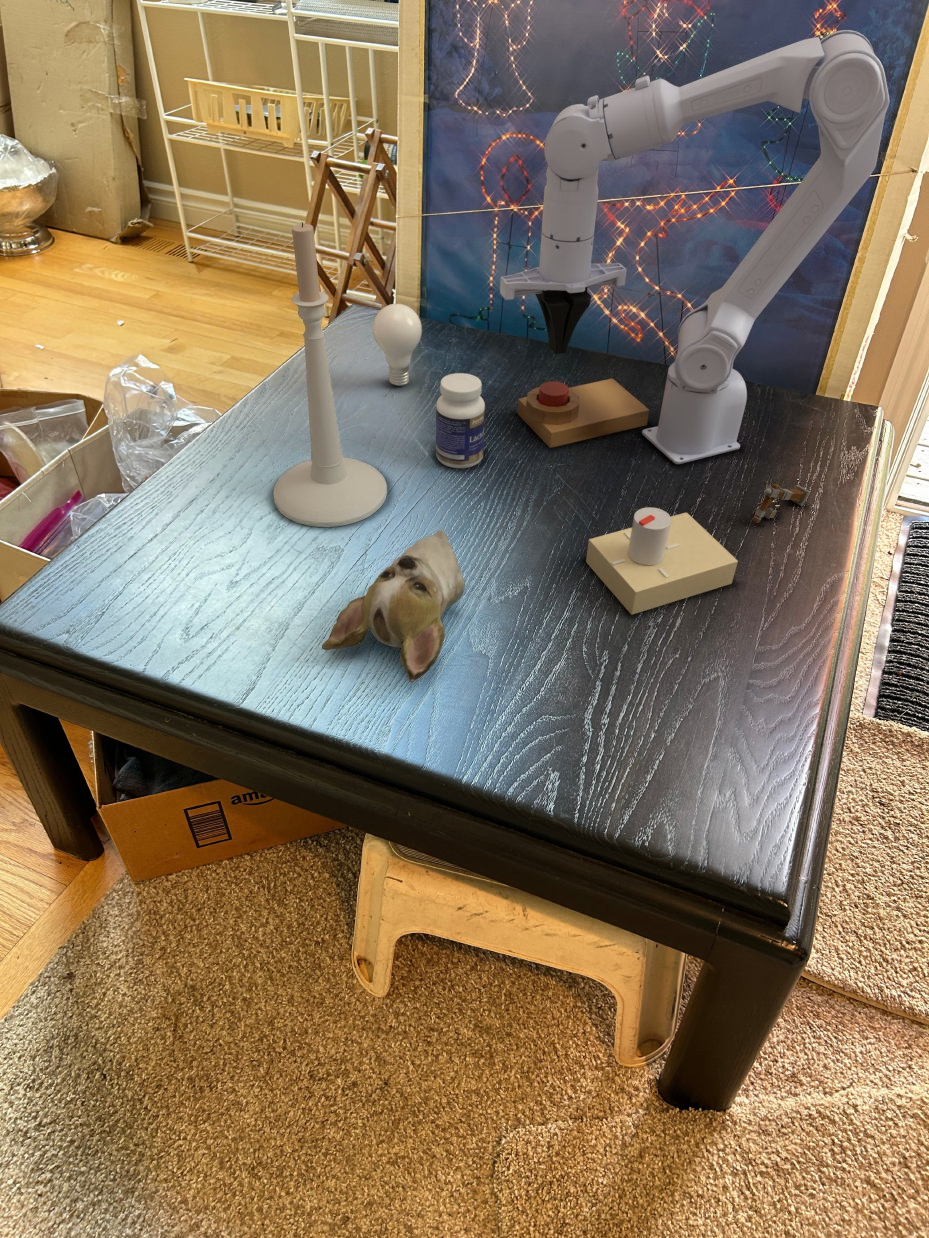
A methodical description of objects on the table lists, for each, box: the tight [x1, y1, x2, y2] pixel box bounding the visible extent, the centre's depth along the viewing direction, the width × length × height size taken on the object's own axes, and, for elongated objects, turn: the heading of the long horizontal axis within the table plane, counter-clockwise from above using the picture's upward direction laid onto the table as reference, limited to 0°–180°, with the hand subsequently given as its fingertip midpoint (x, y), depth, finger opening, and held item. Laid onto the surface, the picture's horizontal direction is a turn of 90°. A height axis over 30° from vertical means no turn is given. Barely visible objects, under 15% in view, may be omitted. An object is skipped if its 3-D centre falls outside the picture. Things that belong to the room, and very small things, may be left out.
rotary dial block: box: [585, 512, 739, 616], centre depth 92 cm, size 12×9×3 cm
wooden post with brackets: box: [752, 483, 811, 524], centre depth 100 cm, size 2×8×4 cm, turn 127°
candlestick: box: [272, 221, 388, 528], centre depth 93 cm, size 13×13×30 cm
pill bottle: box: [435, 372, 486, 469], centre depth 105 cm, size 6×6×10 cm
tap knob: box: [628, 506, 672, 566], centre depth 89 cm, size 4×4×5 cm
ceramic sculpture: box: [321, 529, 466, 683], centre depth 83 cm, size 11×9×15 cm
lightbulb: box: [372, 303, 423, 387], centre depth 118 cm, size 6×6×11 cm
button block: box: [517, 378, 650, 449], centre depth 114 cm, size 15×9×4 cm, turn 114°
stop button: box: [539, 380, 570, 407], centre depth 111 cm, size 4×4×2 cm
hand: (557, 349), depth 107 cm, fingers closed
